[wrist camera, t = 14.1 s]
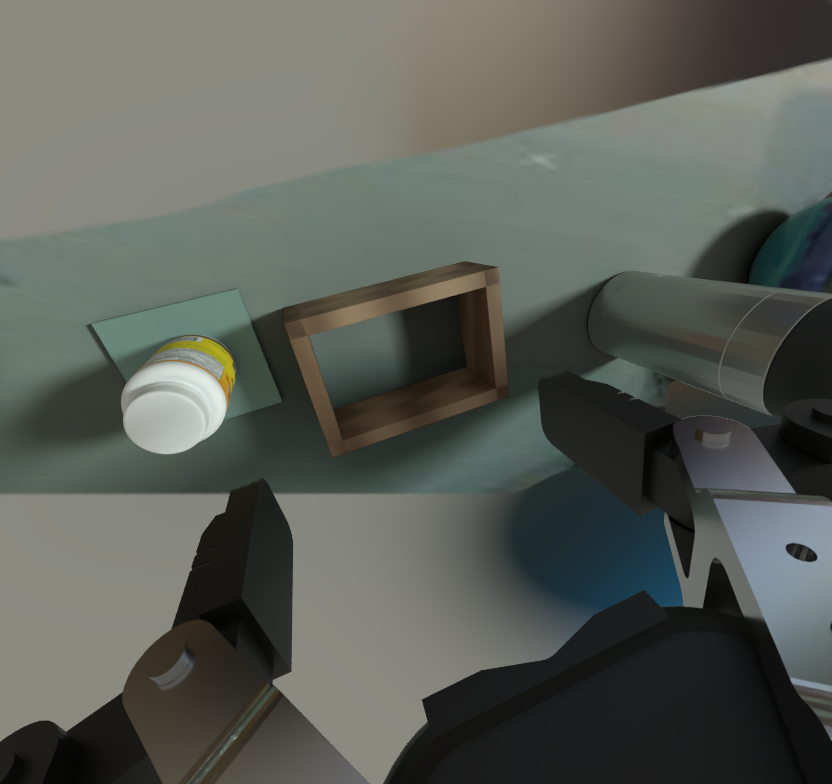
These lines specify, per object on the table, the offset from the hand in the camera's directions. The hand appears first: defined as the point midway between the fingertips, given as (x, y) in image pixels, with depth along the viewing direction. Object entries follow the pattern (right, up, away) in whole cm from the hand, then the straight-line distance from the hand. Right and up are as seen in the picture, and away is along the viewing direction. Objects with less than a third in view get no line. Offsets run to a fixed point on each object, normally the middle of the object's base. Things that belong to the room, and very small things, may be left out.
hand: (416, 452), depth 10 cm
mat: (-18, +4, +20) cm, 27 cm away
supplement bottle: (-17, +4, +19) cm, 26 cm away
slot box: (-2, +6, +24) cm, 25 cm away
